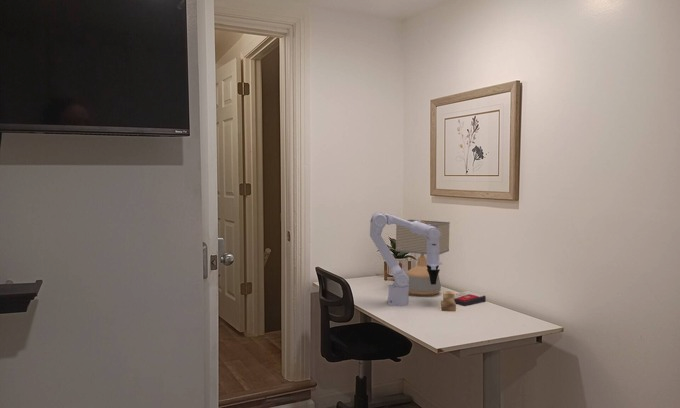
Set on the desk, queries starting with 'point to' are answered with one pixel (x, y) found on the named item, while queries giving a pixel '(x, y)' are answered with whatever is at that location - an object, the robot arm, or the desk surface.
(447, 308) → the walnut slab
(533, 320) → the desk surface
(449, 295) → the oak cube
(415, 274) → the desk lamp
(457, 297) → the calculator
